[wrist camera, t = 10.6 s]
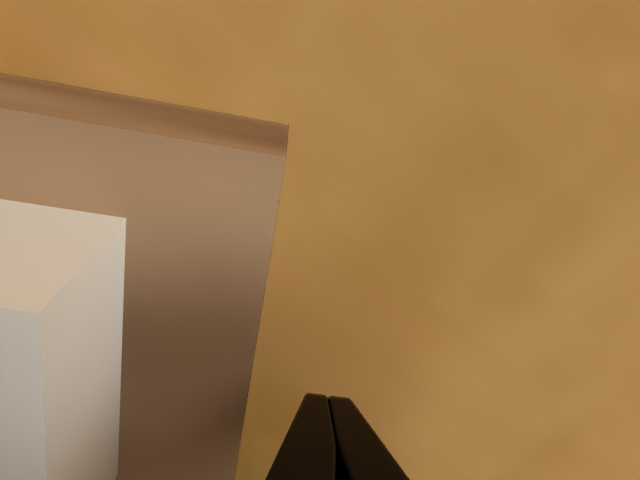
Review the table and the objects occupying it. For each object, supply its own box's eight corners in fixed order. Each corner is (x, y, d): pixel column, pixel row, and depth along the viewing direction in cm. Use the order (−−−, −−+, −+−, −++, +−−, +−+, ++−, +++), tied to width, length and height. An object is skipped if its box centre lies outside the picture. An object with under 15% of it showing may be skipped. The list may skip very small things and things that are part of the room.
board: (239, 432, 14) (225, 530, 11) (-175, 389, 13) (-305, 486, 10) (288, 125, 11) (286, 157, 8) (-271, 23, 9) (-509, 19, 7)
